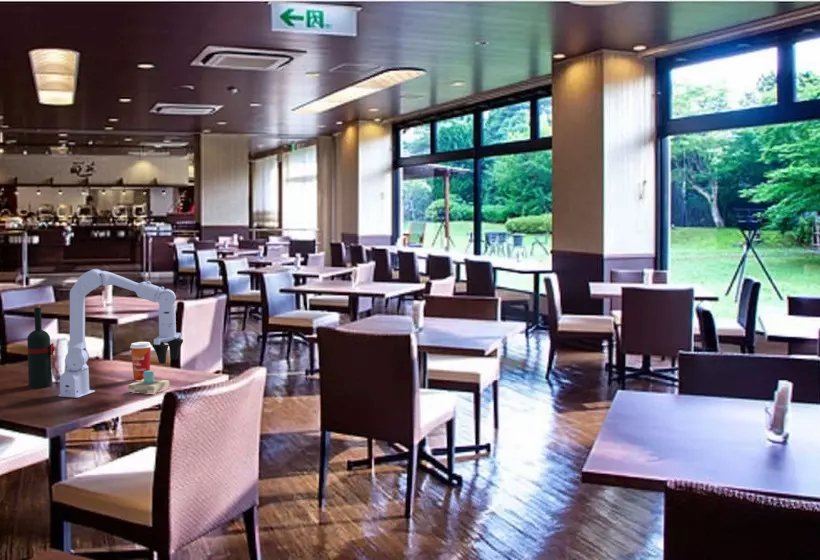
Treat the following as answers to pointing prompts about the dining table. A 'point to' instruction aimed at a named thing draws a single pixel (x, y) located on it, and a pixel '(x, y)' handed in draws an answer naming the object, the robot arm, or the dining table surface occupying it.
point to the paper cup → (140, 359)
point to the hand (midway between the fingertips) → (168, 361)
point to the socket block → (148, 386)
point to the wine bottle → (39, 354)
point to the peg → (148, 377)
